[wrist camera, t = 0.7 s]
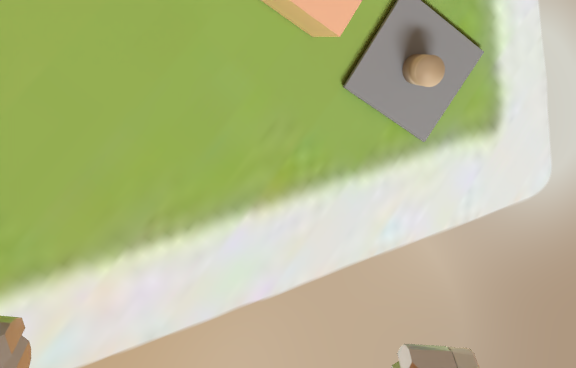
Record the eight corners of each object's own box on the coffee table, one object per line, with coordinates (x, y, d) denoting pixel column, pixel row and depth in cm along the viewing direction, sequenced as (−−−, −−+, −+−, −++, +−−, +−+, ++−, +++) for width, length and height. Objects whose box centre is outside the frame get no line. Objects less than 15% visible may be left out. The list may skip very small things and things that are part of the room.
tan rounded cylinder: (399, 59, 49) (413, 60, 46) (426, 49, 49) (441, 50, 46) (405, 88, 50) (419, 91, 47) (431, 78, 50) (447, 81, 47)
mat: (342, 86, 49) (344, 87, 48) (403, -12, 47) (406, -12, 47) (422, 141, 53) (424, 141, 52) (481, 51, 51) (483, 51, 51)
